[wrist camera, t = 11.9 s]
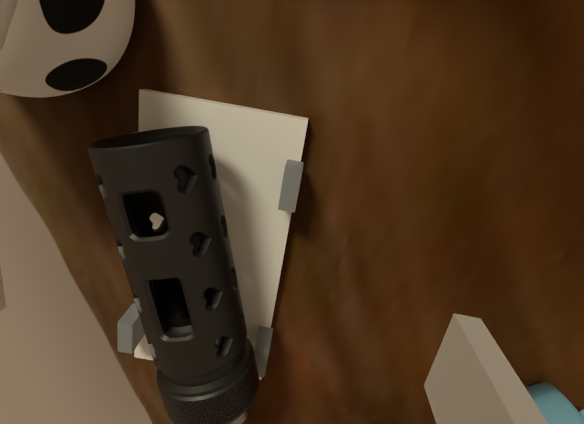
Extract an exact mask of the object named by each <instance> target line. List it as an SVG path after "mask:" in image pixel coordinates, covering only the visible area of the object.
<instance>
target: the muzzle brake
mask: <svg viewBox="0 0 584 424" xmlns="http://www.w3.org/2000/svg"><path fill="white" fill-rule="evenodd" d="M87 151H88V154H89V157H90V161H91V164H92V167H93V170H94V173H95V177H96V180H97V183H98V185H99V189H100V192H101V196H102V199H103V202H104V205H105V208H106V211H107V215H108V218H109V221H110V224H111V227H112V231H113V234H114V237H115V240H116V243H117V246H118V249H119V253H120V256H121V259H122V262H123V266H124V269H125V272H126V275H127V278H128V281H129V285H130V288H131V291H132V294H133V297H134V300H135V304H136V307H137V310H138V313H139V316H140V320H141V323H142V326H143V329H144V332H145V335H146V339H147V342H148V344H149V348H150V351H151V355H152V358H153V361H154V363H155V365H156V367H157V368H158V371H157V384H158V388H159V391H160V394H161V397H162V400H163V403H164V407H165V410H166V412H167V414H168V416H169V418H170V419H171V420H172V421H173V422H174V423H175V424H242V423H243V422H244V421H245V420H246V419H247V417H248V416H249V414H250V412H251V410H252V408H253V405H254V401H255V395H256V393H257V390H258V386H259V375H258V369H257V364H256V359H255V354H254V349H253V346H252V344H251V342H250V340H249V339H248V338H247V327H246V322H245V316H244V311H243V306H242V301H241V296H240V290H239V285H238V280H237V275H236V270H235V264H234V259H233V254H232V249H231V244H230V238H229V233H228V228H227V223H226V218H225V212H224V207H223V202H222V197H221V192H220V186H219V181H218V176H217V171H216V166H215V160H214V155H213V150H212V145H211V140H210V134H209V130H208V128H206V127H204V126H182V127H172V128H163V129H155V130H149V131H142V132H137V133H131V134H126V135H121V136H117V137H112V138H108V139H105V140H101V141H98V142H95V143H93V144H91V145H89V146H88V148H87ZM153 213H157V214H159V215H160V216H162V217H163V218H164V219H163V221H162V223H161V224H160V226H159V228H157V229H153V228H152V226H153V223H152V221H151V220H150V216H151V215H152V214H153Z"/></svg>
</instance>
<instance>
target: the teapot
mask: <svg viewBox="0 0 584 424" xmlns="http://www.w3.org/2000/svg"><path fill="white" fill-rule="evenodd" d="M524 387H525V388H526V390H527V391H528V393H529V394H530V396H531V397H532V399H533V400H534V402H535V404H536V405H537V407H538V408H539V410H540V411H541V413H542V414H543V416H544V418H545V419H546V421H547V422H548V424H584V409H582V410H580V411H579V412H578V410H577V409H576V408H575V407H574V406H573V405H572V404H571V403H570V402H569V400H568V399H567V398H566V397H565V396H564V395H563V394H562V393H561V392H560V391H559V390H557V389H556V388H555V387H554V386H553V385H551V384H550V383H549V382H546V381H545V382H540V383H536V384H534V385H531V386H524Z"/></svg>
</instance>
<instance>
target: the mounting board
mask: <svg viewBox="0 0 584 424" xmlns="http://www.w3.org/2000/svg"><path fill="white" fill-rule="evenodd" d="M307 124H308V118H305V117H299V116H294V115H288V114H283V113H277V112H272V111H266V110H261V109H255V108H250V107H244V106H238V105H233V104H227V103H222V102H216V101H211V100H205V99H200V98H194V97H189V96H183V95H178V94H172V93H167V92H161V91H155V90H150V89H139V127H138V132H142V131H149V130H155V129H163V128H172V127H182V126H204V127H206V128H208V130H209V134H210V140H211V145H212V150H213V155H214V160H215V166H216V171H217V176H218V181H219V186H220V192H221V197H222V202H223V207H224V212H225V218H226V223H227V228H228V233H229V238H230V244H231V249H232V254H233V259H234V264H235V270H236V275H237V280H238V285H239V290H240V296H241V301H242V306H243V311H244V316H245V322H246V327H247V338H248V339H249V340H250V342H251V344H252V346H253V349H254V354H255V359H256V364H257V369H258V375H259V380H261V379H262V377H264V378H265V372H266V367H267V361H268V356H269V350H270V345H271V339H272V333H273V328H271V324H272V318H273V313H274V307H275V301H276V296H277V290H278V285H279V279H280V274H281V268H282V263H283V257H284V252H285V246H286V240H287V235H288V229H289V224H290V218H291V213H292V212H294V213H295V209H296V204H297V198H298V193H299V187H300V182H301V177H302V171H303V164H304V162H301V157H302V152H303V146H304V141H305V135H306V130H307ZM133 133H137V132H133ZM130 134H131V133H130ZM163 219H164V218H163V217H162V216H160V215H159V214H157V213H153V214H152V215H151V216H150V220H151V221H152V223H153V226H152V228H153V229H157V228H159V226H160V224H161V223H162V221H163ZM134 350H135V354H134V357H137V358H142V359H148V360H153V358H152V355H151V351H150V348H149V344H148V342H147V339H146V335H145V332H144V329H143V326H142V323H141V320H140V316H139V313H138V310H137V307H136V304H135V303H133V304H132V305H131V306H130V307H129V309H128V310H127V311H126V312H125V314H124V315H123V316H122V317H121V319H120V320H119V321H118V351H119V352H125V353H130V354H132V353H133V351H134Z"/></svg>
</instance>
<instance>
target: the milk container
mask: <svg viewBox="0 0 584 424" xmlns="http://www.w3.org/2000/svg"><path fill="white" fill-rule="evenodd" d="M134 15H135V0H0V92H1V93H6V94H11V95H15V96H22V97H39V98H42V97H54V96H60V95H65V94H69V93H72V92H76V91H78V90H81V89H83V88H86V87H88V86H90V85H92V84H94V83H96V82H97V81H99V80H100V79H102V78H103V77H104V76H106V75H107V74H108V73H109V72H110V71H111V70H112V69H113V68H114V67H115V65H116V64H117V63H118V62H119V60H120V59H121V57H122V55H123V53H124V51H125V50H126V47H127V45H128V42H129V40H130V36H131V33H132V29H133V24H134Z"/></svg>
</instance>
